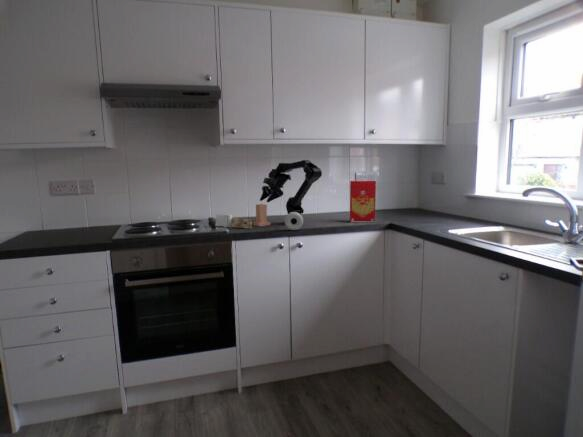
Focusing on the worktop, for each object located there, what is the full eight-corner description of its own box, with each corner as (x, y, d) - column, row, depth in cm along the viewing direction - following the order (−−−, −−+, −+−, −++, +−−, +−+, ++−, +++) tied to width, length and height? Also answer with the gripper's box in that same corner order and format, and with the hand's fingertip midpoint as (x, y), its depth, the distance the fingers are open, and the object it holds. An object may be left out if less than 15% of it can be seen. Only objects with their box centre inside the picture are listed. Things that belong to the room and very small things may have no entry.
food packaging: (350, 222, 226) (350, 181, 222) (349, 221, 231) (350, 180, 227) (374, 222, 225) (375, 181, 221) (373, 221, 230) (374, 180, 226)
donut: (303, 229, 202) (303, 211, 200) (303, 230, 198) (303, 212, 197) (284, 229, 201) (284, 211, 200) (284, 230, 198) (284, 212, 197)
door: (231, 227, 209) (230, 218, 209) (233, 226, 211) (233, 218, 211) (249, 228, 204) (249, 219, 203) (251, 228, 206) (251, 219, 205)
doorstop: (263, 223, 224) (263, 203, 223) (270, 225, 218) (270, 204, 217) (252, 224, 220) (252, 204, 218) (259, 226, 214) (259, 205, 212)
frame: (216, 226, 213) (215, 214, 212) (218, 226, 215) (218, 214, 214) (231, 227, 210) (230, 215, 209) (233, 226, 212) (232, 214, 211)
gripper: (264, 172, 229) (248, 191, 225) (278, 173, 213) (261, 193, 209) (275, 185, 234) (260, 203, 230) (290, 186, 218) (274, 206, 214)
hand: (263, 201), depth 221 cm, fingers open, 9 cm apart
